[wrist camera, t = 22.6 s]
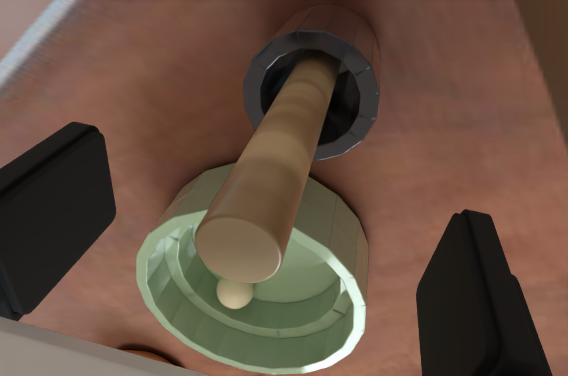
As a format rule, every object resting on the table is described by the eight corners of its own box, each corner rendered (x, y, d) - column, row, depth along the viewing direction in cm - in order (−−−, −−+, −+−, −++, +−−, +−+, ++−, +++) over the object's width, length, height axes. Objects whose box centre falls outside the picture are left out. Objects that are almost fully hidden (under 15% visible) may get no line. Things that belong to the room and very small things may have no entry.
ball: (238, 257, 31) (209, 283, 30) (264, 284, 31) (237, 312, 29) (234, 269, 34) (207, 293, 32) (258, 294, 33) (232, 320, 32)
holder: (256, 28, 22) (220, 59, 17) (361, -15, 20) (354, 6, 15) (295, 123, 25) (274, 172, 20) (391, 94, 22) (394, 142, 18)
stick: (301, 41, 21) (176, 227, 8) (335, 26, 21) (256, 204, 8) (315, 75, 22) (221, 290, 9) (349, 61, 21) (297, 276, 9)
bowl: (137, 185, 30) (91, 236, 26) (329, 132, 25) (315, 184, 20) (227, 318, 37) (203, 378, 33) (392, 301, 32) (393, 370, 27)
